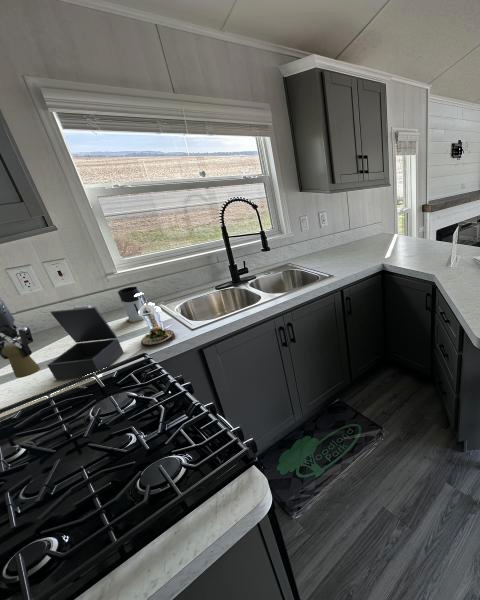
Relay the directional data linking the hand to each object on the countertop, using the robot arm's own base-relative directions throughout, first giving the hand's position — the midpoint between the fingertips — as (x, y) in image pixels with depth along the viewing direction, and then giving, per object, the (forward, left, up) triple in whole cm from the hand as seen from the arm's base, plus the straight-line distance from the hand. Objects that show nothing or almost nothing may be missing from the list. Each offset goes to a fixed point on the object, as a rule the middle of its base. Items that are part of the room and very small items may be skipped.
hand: (18, 356), depth 110 cm
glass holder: (+50, -9, -13) cm, 53 cm away
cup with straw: (+34, -23, -13) cm, 43 cm away
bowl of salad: (+25, -28, -13) cm, 40 cm away
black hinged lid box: (+10, -11, -13) cm, 20 cm away
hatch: (+16, -11, +2) cm, 19 cm away
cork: (0, 0, -7) cm, 7 cm away
